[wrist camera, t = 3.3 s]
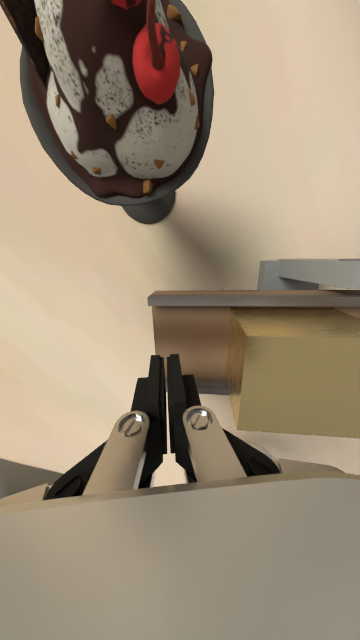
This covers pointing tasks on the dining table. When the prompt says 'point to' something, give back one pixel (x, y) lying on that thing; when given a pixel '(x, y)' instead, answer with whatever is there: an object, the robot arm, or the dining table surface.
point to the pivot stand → (309, 274)
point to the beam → (223, 325)
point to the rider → (294, 371)
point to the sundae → (117, 95)
